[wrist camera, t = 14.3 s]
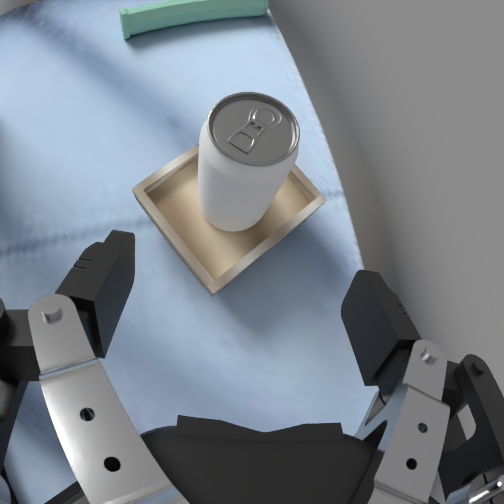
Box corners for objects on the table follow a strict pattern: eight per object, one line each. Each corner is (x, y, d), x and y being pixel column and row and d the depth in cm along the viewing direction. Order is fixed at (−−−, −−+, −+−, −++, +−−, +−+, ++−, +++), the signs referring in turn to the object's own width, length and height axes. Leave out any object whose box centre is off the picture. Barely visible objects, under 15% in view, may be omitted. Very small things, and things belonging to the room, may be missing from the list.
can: (278, 194, 30) (323, 123, 18) (240, 247, 28) (271, 194, 16) (224, 158, 30) (241, 73, 18) (183, 206, 28) (177, 132, 16)
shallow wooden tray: (210, 298, 31) (213, 294, 26) (141, 210, 32) (131, 188, 26) (307, 218, 35) (327, 200, 29) (240, 143, 36) (247, 115, 30)
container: (267, -16, 38) (118, 2, 31) (277, 8, 39) (123, 28, 33) (255, 1, 43) (120, 20, 37) (264, 23, 45) (125, 46, 38)
